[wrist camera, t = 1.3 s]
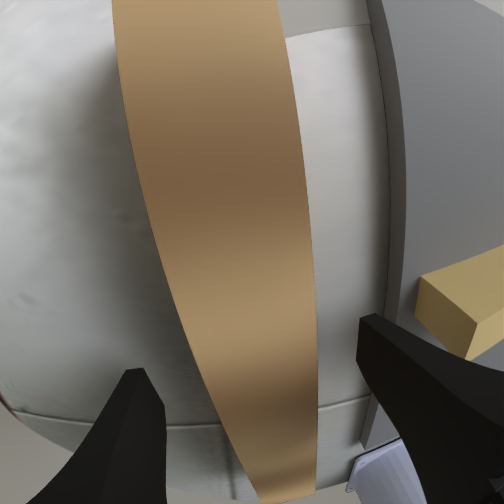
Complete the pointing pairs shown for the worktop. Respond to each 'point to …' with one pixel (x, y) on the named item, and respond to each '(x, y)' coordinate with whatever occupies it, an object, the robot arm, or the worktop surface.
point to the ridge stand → (443, 178)
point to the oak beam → (230, 217)
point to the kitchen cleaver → (335, 14)
